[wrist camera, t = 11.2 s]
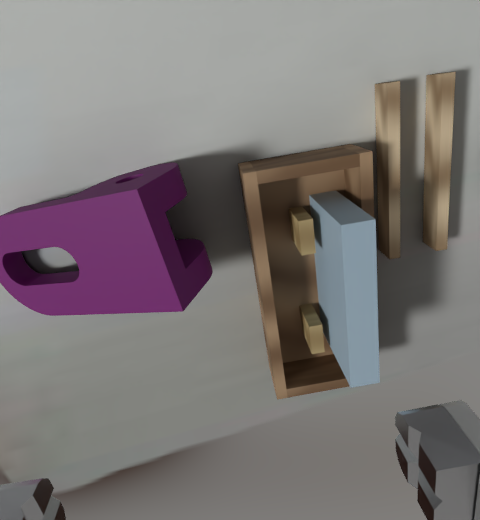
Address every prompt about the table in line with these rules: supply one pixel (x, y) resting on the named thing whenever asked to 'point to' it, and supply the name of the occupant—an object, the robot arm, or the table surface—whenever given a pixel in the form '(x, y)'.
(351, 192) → the box
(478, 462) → the robot arm
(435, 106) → the door stand
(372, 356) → the door
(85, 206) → the mounting bracket
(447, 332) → the table surface
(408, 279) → the table surface
